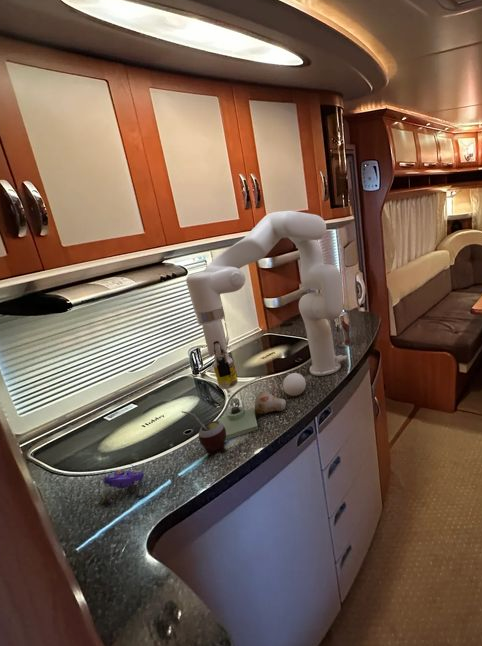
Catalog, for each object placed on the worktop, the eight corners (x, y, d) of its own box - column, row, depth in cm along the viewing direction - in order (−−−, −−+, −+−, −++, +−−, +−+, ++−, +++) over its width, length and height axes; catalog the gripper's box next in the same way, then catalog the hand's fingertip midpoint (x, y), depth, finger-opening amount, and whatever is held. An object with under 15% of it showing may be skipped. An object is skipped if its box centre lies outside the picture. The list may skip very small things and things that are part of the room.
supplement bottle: (233, 389, 111) (224, 358, 108) (215, 390, 112) (207, 359, 109) (241, 380, 117) (233, 350, 114) (225, 381, 118) (216, 351, 115)
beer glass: (338, 348, 170) (333, 317, 165) (336, 343, 176) (331, 313, 172) (353, 345, 171) (348, 314, 166) (351, 340, 177) (346, 310, 173)
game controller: (150, 457, 101) (143, 472, 92) (147, 487, 101) (140, 506, 92) (106, 460, 98) (94, 476, 88) (104, 491, 98) (91, 511, 88)
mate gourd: (234, 443, 109) (222, 398, 105) (215, 462, 102) (201, 414, 98) (215, 440, 112) (202, 396, 108) (194, 458, 105) (180, 411, 101)
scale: (254, 410, 126) (252, 402, 125) (258, 429, 115) (256, 421, 114) (220, 420, 122) (218, 412, 122) (220, 441, 111) (218, 433, 110)
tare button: (239, 409, 123) (238, 405, 122) (240, 413, 120) (239, 408, 120) (232, 411, 122) (231, 407, 121) (232, 415, 120) (231, 411, 119)
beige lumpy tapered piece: (287, 415, 121) (265, 396, 117) (265, 426, 124) (244, 408, 120) (292, 398, 127) (272, 380, 123) (271, 409, 130) (251, 391, 126)
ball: (281, 400, 130) (276, 379, 128) (290, 388, 138) (286, 369, 135) (302, 400, 129) (298, 379, 126) (310, 388, 136) (306, 368, 134)
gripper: (197, 311, 114) (212, 364, 120) (194, 326, 99) (211, 386, 104) (223, 306, 117) (236, 358, 122) (224, 319, 101) (239, 379, 107)
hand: (225, 371), depth 113 cm, fingers closed on supplement bottle, 5 cm apart
